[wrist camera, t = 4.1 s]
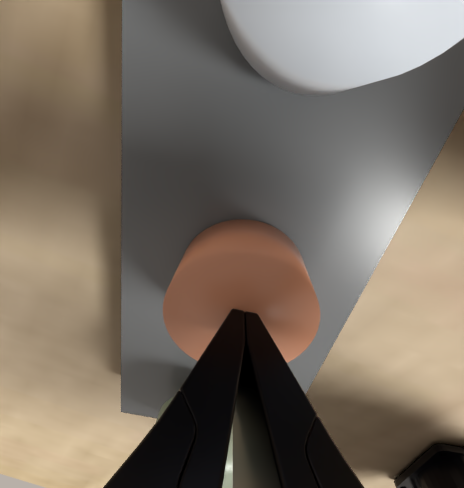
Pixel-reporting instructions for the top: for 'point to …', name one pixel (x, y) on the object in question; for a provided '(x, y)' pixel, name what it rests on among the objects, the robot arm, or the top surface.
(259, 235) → the button terracotta
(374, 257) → the panel
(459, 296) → the top surface
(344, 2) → the button bluegrey
